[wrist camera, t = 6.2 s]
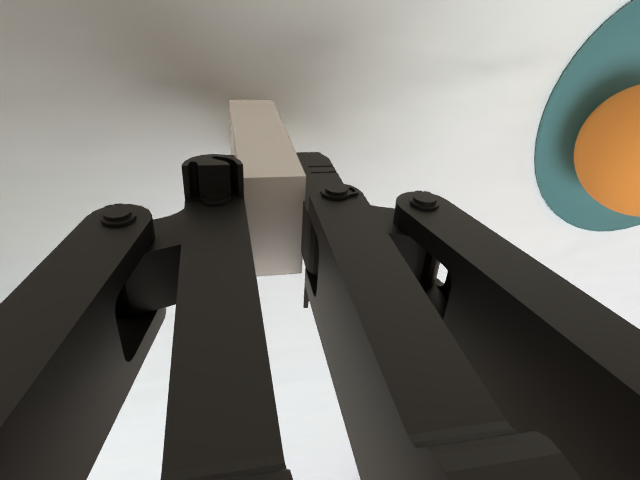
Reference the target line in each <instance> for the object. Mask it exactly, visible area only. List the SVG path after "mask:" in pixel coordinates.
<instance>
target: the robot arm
mask: <svg viewBox="0 0 640 480" xmlns="http://www.w3.org/2000/svg"><path fill="white" fill-rule="evenodd" d="M229 111H230V134H231V155H219V154H208V155H200V156H196V157H192V158H190V159H188V160H186V161H184V163H183V164H182V175H183V185H184V194H185V207H184V209H183V210H181V211H180V212H178V213H176V214H173V215H171V216H167V217H164V218H159V219H154V220H153V219H152V214H151V213H150V211H149V210H148V209H146V208H144V207H142V206H138V205H132V204H114V205H108V206H105V207H104V208H101V209H98V210H96V211H94V212H92V213H91V214H89V215H88V216H87V217H86V218H85V219H84V220H83V221H82V222H81V223H80V224H79V225H78V226H77V227H76V228H75V229H74V230H73V231H72V232H71V233H70V234H69V235H68V236H67V237H66V238H65V239H64V240H63V241H62V242H61V243H60V244H59V245H58V246H57V247H56V248H55V249H54V250H53V251H52V252H51V253H50V254H49V255H48V256H47V257H46V258H45V259H44V260H43V261H42V262H41V263H40V264H39V265H38V266H37V267H36V268H35V269H34V270H33V271H32V272H31V273H30V274H29V275H28V276H27V277H26V279H25V280H24V281H23V282H22V283H21V284H20V285H19V286H18V287H17V288H16V289H15V290H14V291H13V292H12V293H11V294H10V295H9V296H8V297H7V298H6V299H5V300H4V301H3V302H2V303H1V304H0V480H86V479H87V477H88V475H89V473H90V471H91V469H92V467H93V465H94V463H95V461H96V459H97V457H98V455H99V453H100V450H101V448H102V446H103V444H104V442H105V440H106V438H107V436H108V434H109V432H110V430H111V428H112V426H113V424H114V422H115V420H116V418H117V415H118V413H119V411H120V409H121V407H122V405H123V403H124V401H125V399H126V397H127V395H128V393H129V391H130V389H131V387H132V385H133V383H134V380H135V378H136V376H137V374H138V372H139V370H140V368H141V366H142V364H143V362H144V360H145V358H146V356H147V354H148V352H149V350H150V348H151V345H152V343H153V341H154V339H155V337H156V335H157V333H158V331H159V329H160V327H161V325H162V323H163V321H164V319H165V314H166V307H168V306H171V305H175V304H176V311H175V323H174V334H173V346H172V358H171V369H170V381H169V392H168V404H167V416H166V427H165V439H164V450H163V462H162V473H161V480H293V478H292V475H291V472H290V470H289V469H286V465H285V461H284V455H283V449H282V443H281V436H280V430H279V423H278V416H277V410H276V403H275V397H274V390H273V384H272V377H271V370H270V364H269V357H268V351H267V344H266V338H265V331H264V325H263V318H262V311H261V305H260V298H259V292H258V285H257V279H256V276H268V275H283V274H297V273H302V256H303V260H304V263H305V266H306V269H305V288H304V308H308V302H309V301H310V304H311V308H312V311H313V315H314V318H315V322H316V325H317V329H318V332H319V336H320V339H321V343H322V346H323V350H324V353H325V357H326V360H327V364H328V367H329V371H330V374H331V378H332V381H333V385H334V388H335V392H336V395H337V399H338V402H339V406H340V409H341V413H342V416H343V420H344V423H345V427H346V430H347V434H348V437H349V441H350V444H351V448H352V451H353V455H354V458H355V462H356V465H357V469H358V472H359V476H360V479H361V480H640V329H638V328H637V327H635V326H634V325H632V324H631V323H629V322H628V321H626V320H625V319H623V318H622V317H620V316H619V315H617V314H616V313H614V312H613V311H611V310H610V309H608V308H607V307H605V306H604V305H602V304H601V303H599V302H598V301H597V300H595V299H594V298H592V297H591V296H589V295H588V294H586V293H585V292H583V291H582V290H580V289H579V288H577V287H576V286H574V285H573V284H571V283H570V282H568V281H567V280H565V279H564V278H562V277H561V276H559V275H558V274H556V273H555V272H553V271H552V270H550V269H549V268H547V267H546V266H544V265H543V264H541V263H540V262H538V261H537V260H535V259H534V258H532V257H531V256H529V255H528V254H526V253H525V252H524V251H522V250H521V249H519V248H518V247H516V246H515V245H513V244H512V243H510V242H509V241H507V240H506V239H504V238H503V237H501V236H500V235H498V234H497V233H495V232H494V231H492V230H491V229H489V228H488V227H486V226H485V225H483V224H482V223H480V222H479V221H477V220H476V219H474V218H473V217H471V216H470V215H468V214H467V213H465V212H464V211H462V210H461V209H459V208H458V207H456V206H455V205H453V204H452V203H451V202H449V201H448V200H446V199H444V198H442V197H440V196H438V195H434V194H431V193H430V192H426V191H424V192H422V191H415V192H407V193H404V194H401V195H399V196H398V197H397V199H396V205H395V209H394V208H385V207H378V206H372V205H370V204H369V203H368V201H367V199H366V198H365V196H364V195H363V193H362V192H361V191H360V190H359V189H357V188H355V187H353V186H351V185H347V184H343V182H342V180H341V178H340V177H339V175H338V173H336V170H335V168H334V167H333V165H332V163H331V161H330V160H329V158H327V157H326V156H324V155H322V154H321V153H319V152H301V153H296V152H295V150H294V147H293V145H292V143H291V140H290V138H289V136H288V133H287V131H286V129H285V127H284V124H283V122H282V120H281V117H280V115H279V113H278V110H277V108H276V106H275V104H274V101H273V100H229ZM440 263H441V264H443V265H444V266H445V267H446V269H447V270H448V273H447V277H446V281H445V283H442V282H441V281H440V280H439V279H437V278H436V277H437V273H438V269H439V264H440Z"/></svg>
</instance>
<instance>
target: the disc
mask: <svg viewBox="0 0 640 480" xmlns="http://www.w3.org/2000/svg"><path fill="white" fill-rule="evenodd" d="M639 84H640V0H633V1H631V2H630V3H628V4H627V5H625V6H624V7H622V8H621V9H620V10H619V11H618V12H616V13H615V14H614V15H613V16H612V17H610V18H609V19H608V20H607V21H606V22H605V23H604V24H603V25H602V26H601V27H600V28H599V29H598V30H597V31H596V32H595V33H594V34H593V35H592V36H591V37H590V38H589V39H588V40H587V41H586V43H585V44H584V45H583V46H582V47H581V49H580V50H579V51H578V52H577V53H576V55H575V56H574V58H573V59H572V61H571V62H570V63H569V65H568V66H567V68H566V69H565V71H564V72H563V74H562V76H561V77H560V79H559V81H558V83H557V85H556V86H555V88H554V90H553V92H552V94H551V97H550V99H549V101H548V103H547V105H546V108H545V111H544V114H543V117H542V120H541V123H540V126H539V131H538V135H537V140H536V149H535V173H536V178H537V183H538V186H539V189H540V192H541V194H542V197H543V198H544V200H545V202H546V203H547V205H548V206H549V208H550V209H551V210H552V211H553V212H554V213H555V214H556V215H557V216H559V217H560V218H561V219H563V220H564V221H566V222H567V223H569V224H571V225H573V226H575V227H578V228H582V229H586V230H591V231H615V230H621V229H626V228H630V227H633V226H637V225H640V217H637V216H631V215H625V214H622V213H618V212H616V211H613V210H611V209H608V208H607V207H605V206H603V205H601V204H600V203H599V202H597V201H596V200H595V199H593V198H592V197H591V196H590V195H589V194H588V193H587V192H586V190H585V189H584V188H583V186H582V185H581V183H580V181H579V179H578V176H577V173H576V171H575V165H574V148H575V142H576V139H577V136H578V134H579V131H580V129H581V127H582V125H583V124H584V122H585V121H586V119H587V118H588V117H589V115H590V114H591V113H592V112H593V111H594V110H595V109H596V108H597V107H598V106H599V105H600V104H602V103H603V102H604V101H605V100H607V99H608V98H610V97H611V96H613V95H615V94H616V93H618V92H621V91H623V90H625V89H627V88H630V87H633V86H636V85H639Z"/></svg>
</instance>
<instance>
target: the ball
mask: <svg viewBox="0 0 640 480" xmlns="http://www.w3.org/2000/svg"><path fill="white" fill-rule="evenodd" d="M574 165H575V171H576V173H577V176H578V179H579V181H580V183H581V185H582V186H583V188H584V189H585V190H586V192H587V193H588V194H589V195H590V196H591V197H592V198H593V199H595V200H596V201H597V202H599V203H600V204H601V205H603V206H605V207H607V208H608V209H611V210H613V211H616V212H618V213H622V214H625V215H631V216H637V217H640V84H639V85H636V86H633V87H630V88H627V89H625V90H623V91H621V92H618V93H616V94H615V95H613V96H611V97H610V98H608V99H607V100H605V101H604V102H603V103H602V104H600V105H599V106H598V107H597V108H596V109H595V110H594V111H593V112H592V113H591V114H590V115H589V117H588V118H587V119H586V121H585V122H584V124H583V125H582V127H581V129H580V131H579V134H578V136H577V139H576V142H575V148H574Z"/></svg>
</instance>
